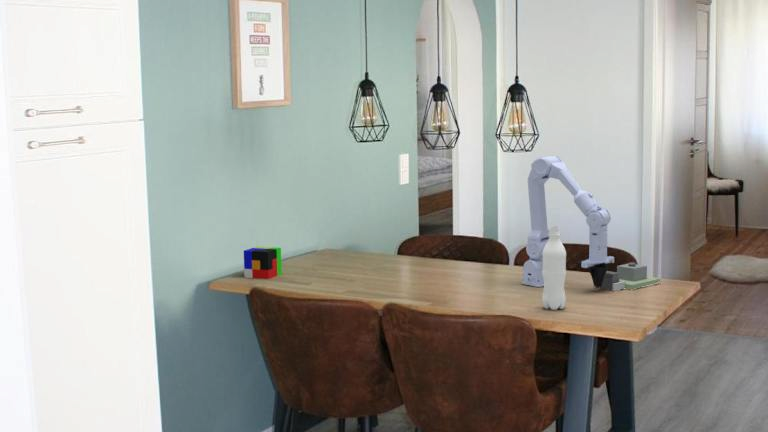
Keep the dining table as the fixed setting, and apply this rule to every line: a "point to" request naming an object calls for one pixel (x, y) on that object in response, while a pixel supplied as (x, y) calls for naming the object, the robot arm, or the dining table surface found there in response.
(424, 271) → the dining table surface
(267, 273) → the puzzle toy
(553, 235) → the water bottle
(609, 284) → the grey block
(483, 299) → the dining table surface
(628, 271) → the stepped base plate
